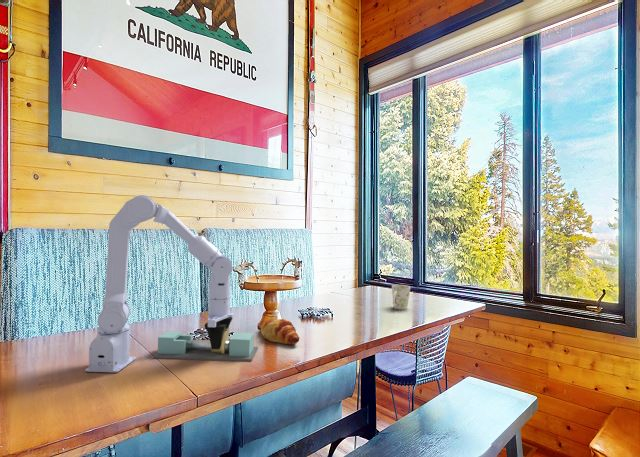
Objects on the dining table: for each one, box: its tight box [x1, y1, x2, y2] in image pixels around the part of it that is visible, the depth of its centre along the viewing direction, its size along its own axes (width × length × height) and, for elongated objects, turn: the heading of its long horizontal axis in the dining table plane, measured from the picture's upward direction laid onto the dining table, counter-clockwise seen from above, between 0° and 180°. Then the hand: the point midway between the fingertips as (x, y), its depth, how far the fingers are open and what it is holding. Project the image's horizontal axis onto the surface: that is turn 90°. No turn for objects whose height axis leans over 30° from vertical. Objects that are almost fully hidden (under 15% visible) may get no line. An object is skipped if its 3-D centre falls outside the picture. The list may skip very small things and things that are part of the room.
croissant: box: [260, 318, 300, 345], centre depth 121 cm, size 21×10×8 cm, turn 39°
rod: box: [186, 327, 230, 354], centre depth 105 cm, size 16×5×6 cm, turn 90°
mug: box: [391, 284, 411, 311], centre depth 168 cm, size 8×13×10 cm, turn 148°
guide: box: [153, 330, 259, 362], centre depth 105 cm, size 26×10×5 cm, turn 90°
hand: (218, 345), depth 105 cm, fingers closed on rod, 4 cm apart
